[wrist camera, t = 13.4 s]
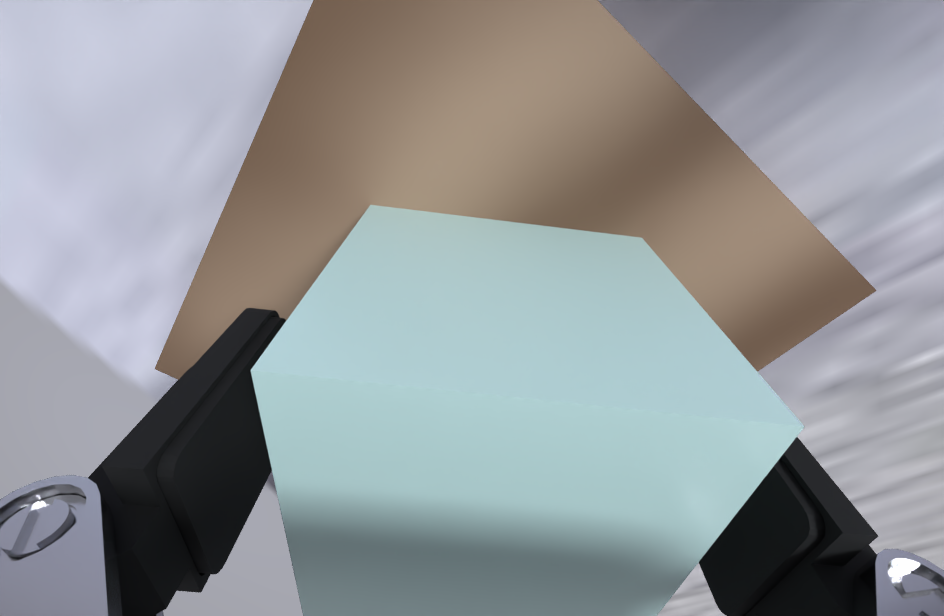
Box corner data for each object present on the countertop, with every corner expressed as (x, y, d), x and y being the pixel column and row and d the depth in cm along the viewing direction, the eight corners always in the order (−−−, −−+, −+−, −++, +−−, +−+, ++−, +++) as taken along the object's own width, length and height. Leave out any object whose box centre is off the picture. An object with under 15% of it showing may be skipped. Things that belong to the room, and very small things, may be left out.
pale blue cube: (641, 237, 10) (804, 426, 5) (574, 425, 13) (630, 649, 8) (370, 204, 9) (249, 370, 5) (373, 405, 13) (305, 624, 8)
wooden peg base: (821, 256, 12) (1105, 429, 7) (514, 489, 18) (528, 680, 13) (419, -149, 8) (272, -617, 2) (194, 329, 14) (6, 512, 8)
